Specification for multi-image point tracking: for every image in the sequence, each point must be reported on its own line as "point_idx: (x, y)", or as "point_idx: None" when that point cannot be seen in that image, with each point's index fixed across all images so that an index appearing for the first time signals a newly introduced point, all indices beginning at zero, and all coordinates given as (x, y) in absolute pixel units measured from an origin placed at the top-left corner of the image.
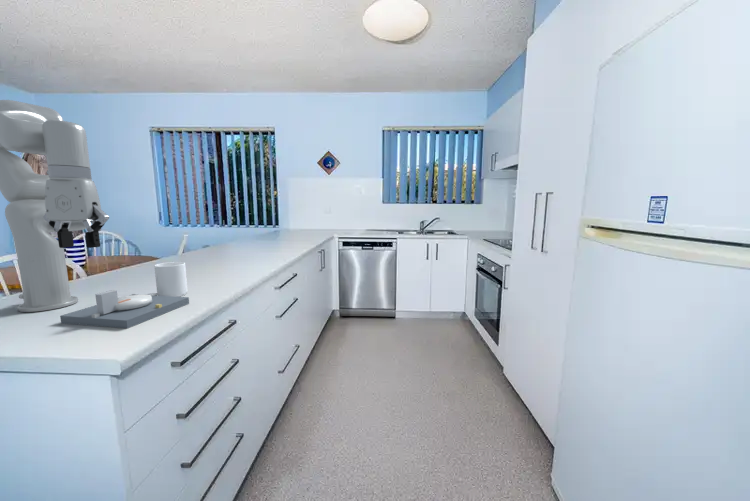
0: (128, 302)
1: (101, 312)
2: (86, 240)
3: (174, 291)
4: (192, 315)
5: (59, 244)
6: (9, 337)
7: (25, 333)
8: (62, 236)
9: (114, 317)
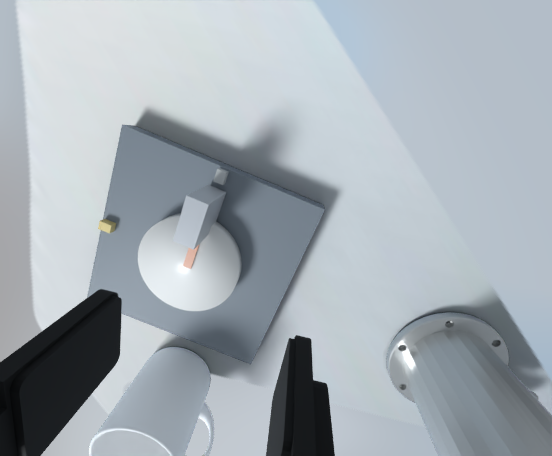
0: (172, 236)
1: (213, 188)
2: (73, 319)
3: (152, 359)
4: (37, 192)
5: (305, 350)
6: (383, 121)
7: (363, 144)
8: (281, 415)
9: (170, 159)
